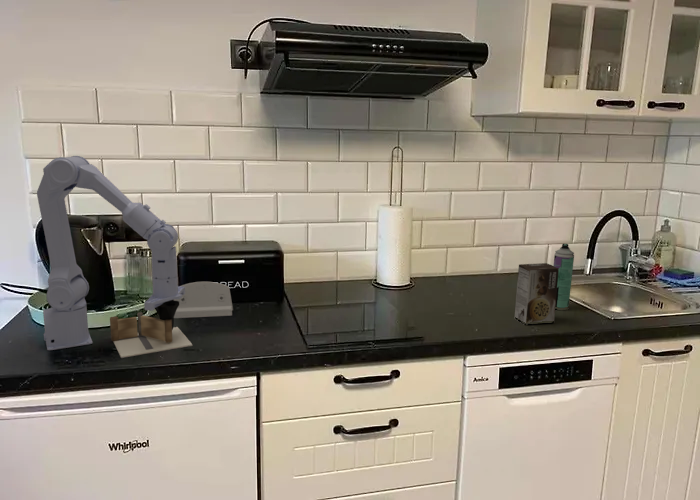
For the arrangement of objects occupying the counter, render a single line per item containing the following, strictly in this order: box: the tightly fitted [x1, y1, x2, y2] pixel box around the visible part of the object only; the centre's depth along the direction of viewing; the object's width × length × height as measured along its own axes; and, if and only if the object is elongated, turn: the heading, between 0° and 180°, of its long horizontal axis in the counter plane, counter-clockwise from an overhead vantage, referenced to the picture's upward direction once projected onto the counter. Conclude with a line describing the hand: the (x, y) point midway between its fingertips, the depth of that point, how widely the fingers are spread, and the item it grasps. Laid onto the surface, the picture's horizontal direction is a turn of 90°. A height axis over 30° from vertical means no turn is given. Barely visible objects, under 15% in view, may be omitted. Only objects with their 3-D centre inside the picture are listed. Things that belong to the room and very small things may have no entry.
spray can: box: [553, 243, 575, 308], centre depth 168 cm, size 6×6×20 cm
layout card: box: [112, 326, 193, 359], centre depth 134 cm, size 16×14×1 cm
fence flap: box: [137, 311, 172, 342], centre depth 134 cm, size 11×2×6 cm, turn 62°
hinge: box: [174, 281, 234, 319], centre depth 157 cm, size 17×5×10 cm, turn 103°
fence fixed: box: [109, 316, 138, 342], centre depth 135 cm, size 6×2×6 cm, turn 121°
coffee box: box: [514, 262, 559, 323], centre depth 155 cm, size 9×6×16 cm
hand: (167, 330), depth 135 cm, fingers closed, pressing on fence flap
